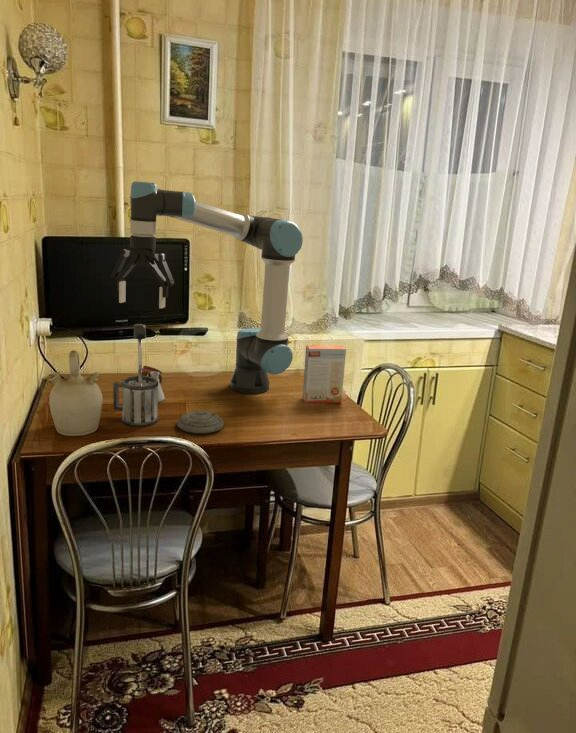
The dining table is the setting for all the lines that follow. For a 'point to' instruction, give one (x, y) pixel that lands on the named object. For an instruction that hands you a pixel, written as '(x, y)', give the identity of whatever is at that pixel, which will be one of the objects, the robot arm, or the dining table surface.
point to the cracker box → (324, 373)
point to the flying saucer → (200, 422)
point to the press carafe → (137, 401)
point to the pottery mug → (148, 370)
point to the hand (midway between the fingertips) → (142, 305)
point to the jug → (75, 401)
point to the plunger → (139, 352)
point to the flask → (160, 392)
